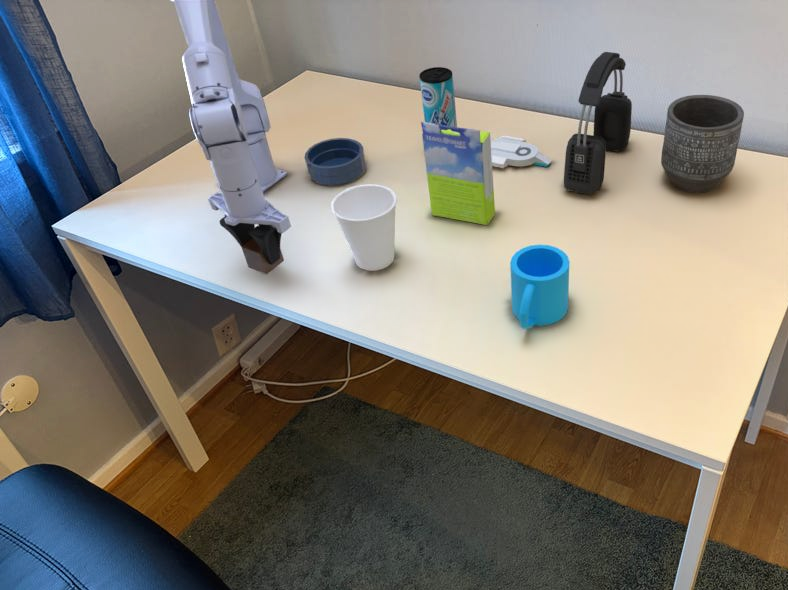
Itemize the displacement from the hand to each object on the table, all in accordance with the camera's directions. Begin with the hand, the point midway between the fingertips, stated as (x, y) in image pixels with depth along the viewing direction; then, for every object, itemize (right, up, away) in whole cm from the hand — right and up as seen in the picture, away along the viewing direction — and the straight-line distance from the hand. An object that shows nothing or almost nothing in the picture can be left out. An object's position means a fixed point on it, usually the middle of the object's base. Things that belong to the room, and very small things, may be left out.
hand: (263, 256), depth 115 cm
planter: (+72, +15, +13) cm, 74 cm away
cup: (+17, 0, +2) cm, 17 cm away
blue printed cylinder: (+27, +24, +26) cm, 44 cm away
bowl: (+7, +19, +22) cm, 31 cm away
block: (0, -1, +1) cm, 1 cm away
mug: (+42, -10, -9) cm, 44 cm away
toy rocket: (+40, +22, +22) cm, 50 cm away
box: (+31, +8, +10) cm, 34 cm away
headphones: (+56, +19, +18) cm, 61 cm away
